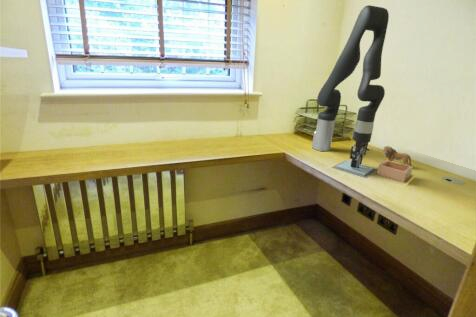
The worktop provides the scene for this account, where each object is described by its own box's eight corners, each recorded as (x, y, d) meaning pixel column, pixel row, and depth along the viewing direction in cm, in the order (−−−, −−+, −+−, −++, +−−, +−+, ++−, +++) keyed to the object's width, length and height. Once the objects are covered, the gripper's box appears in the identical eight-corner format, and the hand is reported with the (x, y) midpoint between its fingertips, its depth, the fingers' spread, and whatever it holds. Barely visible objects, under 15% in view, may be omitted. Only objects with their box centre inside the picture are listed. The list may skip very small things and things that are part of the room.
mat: (331, 168, 133) (331, 167, 133) (345, 161, 144) (345, 160, 144) (365, 179, 123) (366, 178, 123) (378, 170, 134) (378, 169, 134)
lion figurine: (380, 163, 144) (384, 146, 141) (379, 160, 148) (383, 144, 145) (413, 169, 138) (418, 152, 135) (411, 166, 143) (416, 149, 140)
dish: (376, 175, 128) (378, 165, 126) (384, 169, 136) (386, 159, 134) (403, 183, 121) (406, 172, 119) (409, 176, 129) (412, 166, 127)
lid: (335, 167, 133) (338, 155, 131) (347, 161, 142) (349, 150, 140) (364, 176, 125) (366, 163, 123) (374, 169, 134) (377, 157, 132)
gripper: (360, 127, 135) (354, 160, 140) (348, 131, 125) (341, 166, 130) (377, 130, 130) (369, 164, 136) (365, 134, 120) (357, 171, 125)
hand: (355, 165), depth 133 cm, fingers open, 6 cm apart
